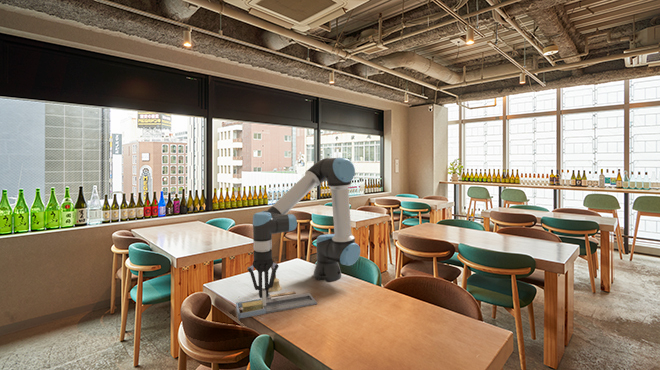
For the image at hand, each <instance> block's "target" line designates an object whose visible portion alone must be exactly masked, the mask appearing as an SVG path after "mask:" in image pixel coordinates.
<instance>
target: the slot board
mask: <svg viewBox="0 0 660 370" xmlns="http://www.w3.org/2000/svg"><path fill="white" fill-rule="evenodd" d="M315 305H318V301H317V300H316V299H315V297H313V295H312V294H311V293H310V292H306V293H300V294H291V295H286V296H280V297H274V298H271V299H266V306H263V309H266V314H267V315H268V314H271V313H272V314H273V313H276V312H283V311H288V310H294V309H298V308H303V307H308V306H309V307H310V306H315Z"/></svg>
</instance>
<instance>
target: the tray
mask: <svg viewBox="0 0 660 370" xmlns="http://www.w3.org/2000/svg"><path fill="white" fill-rule="evenodd" d="M259 300H262V298H257V299H250V300H244V301H243V300H242V301H238V302H235V310H236V315H237V319H238V322H240V320H241V319H244V318H245V319H246V318H251V317H255V316H256V317H257V316H259V315H265V314H266V309H264V308H263V309H260V310H255V311H249V312H244V313H243V312H240V308H242V303H247V302H253V301H259Z"/></svg>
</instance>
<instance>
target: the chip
mask: <svg viewBox="0 0 660 370" xmlns="http://www.w3.org/2000/svg"><path fill="white" fill-rule="evenodd" d="M241 310H242V313H244V312H249V311H253V304H252V302H247V303H242V307H241Z"/></svg>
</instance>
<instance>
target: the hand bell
mask: <svg viewBox="0 0 660 370" xmlns="http://www.w3.org/2000/svg"><path fill="white" fill-rule="evenodd" d="M272 260H273V262H274V263H277V261H276V259H275V258H273V257H272ZM270 269H271V270H272V266H271V268H270ZM282 289H283V288H282V286H281V284H280V280H279V278H277V275H276V274H275V279H274V283H273V287H272V288H269V290H268V292H279V291H281V290H282Z"/></svg>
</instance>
